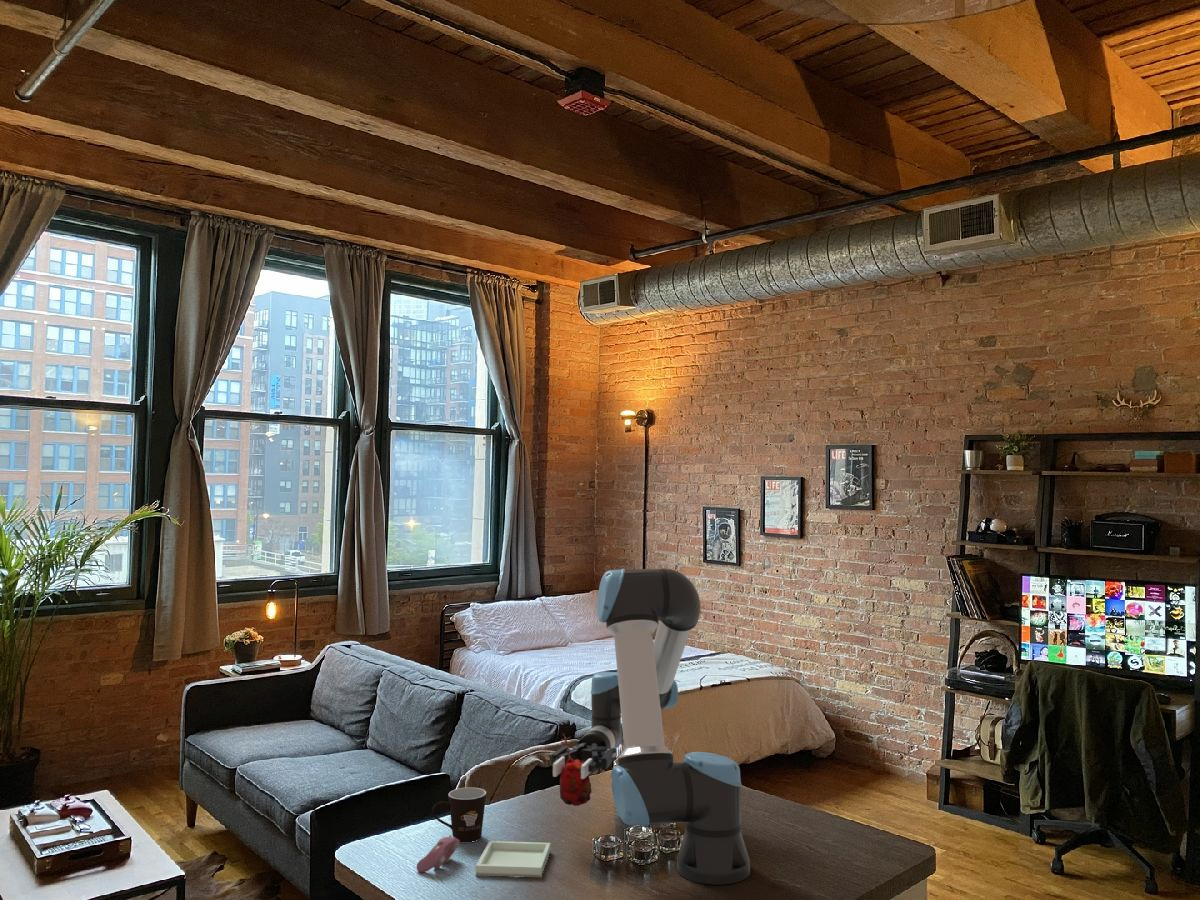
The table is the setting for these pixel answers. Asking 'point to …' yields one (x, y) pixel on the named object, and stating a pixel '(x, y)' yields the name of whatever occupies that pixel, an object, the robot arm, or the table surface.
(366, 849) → the table surface
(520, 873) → the sage tray
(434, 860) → the pink animal figurine
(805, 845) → the table surface
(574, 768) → the red bumpy rounded piece
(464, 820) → the coffee mug
